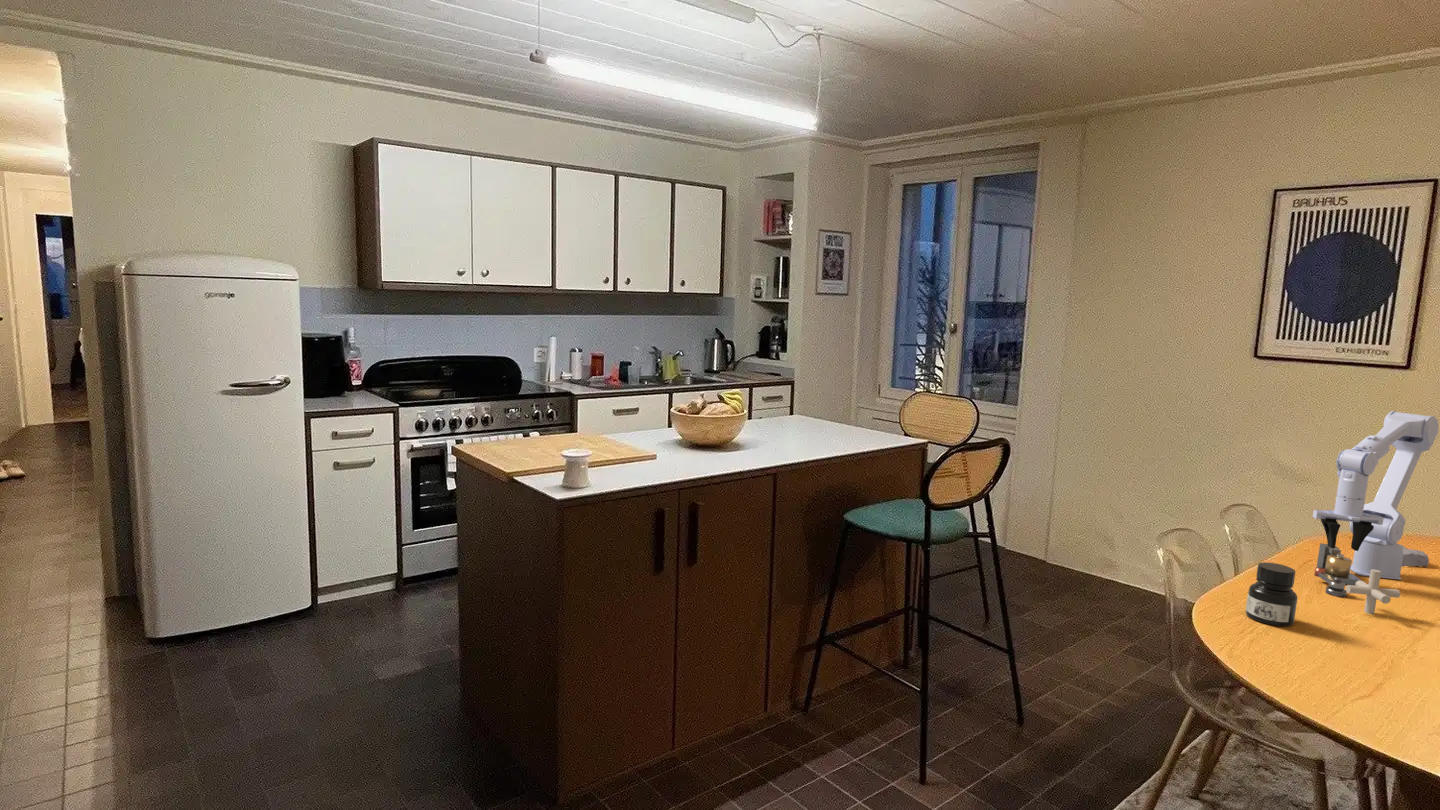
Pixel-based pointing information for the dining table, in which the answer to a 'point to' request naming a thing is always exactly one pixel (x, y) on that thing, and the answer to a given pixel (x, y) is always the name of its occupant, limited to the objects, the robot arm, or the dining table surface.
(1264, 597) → the ink bottle
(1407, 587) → the dining table surface
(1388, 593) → the pipe connector
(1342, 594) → the lever base
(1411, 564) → the stone block
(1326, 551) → the press
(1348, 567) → the housing
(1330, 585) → the lever
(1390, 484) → the robot arm
